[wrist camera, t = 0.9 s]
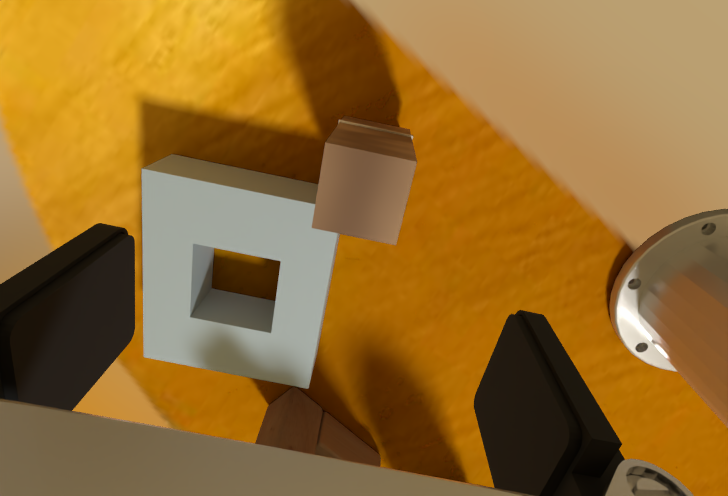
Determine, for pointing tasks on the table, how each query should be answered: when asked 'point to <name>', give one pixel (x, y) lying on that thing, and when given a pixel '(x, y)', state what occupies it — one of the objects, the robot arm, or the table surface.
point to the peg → (365, 180)
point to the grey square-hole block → (238, 234)
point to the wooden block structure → (311, 430)
